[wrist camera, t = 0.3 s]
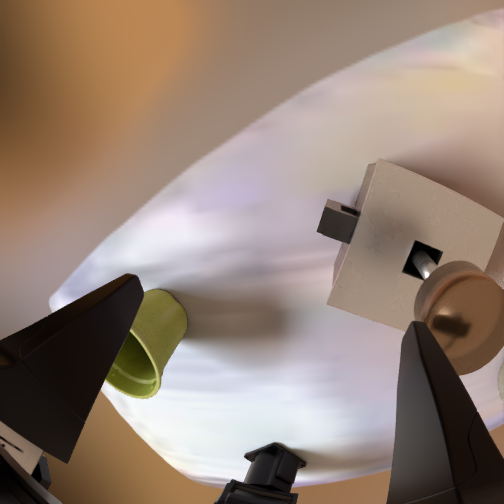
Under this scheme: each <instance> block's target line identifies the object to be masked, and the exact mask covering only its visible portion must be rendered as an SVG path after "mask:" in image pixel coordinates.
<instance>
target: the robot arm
mask: <svg viewBox="0 0 504 504" xmlns="http://www.w3.org/2000/svg"><path fill="white" fill-rule="evenodd" d="M143 298H144V291H143V288H142V285H141V283H140V280H139V277H138V276H137V275H134V274H130V273H127V274H124V275H123V276H121V277H119V278H117V279H115V280H113V281H111V282H109V283H107V284H105V285H103V286H102V287H100V288H98V289H96V290H94V291H92V292H90V293H88V294H87V295H85V296H83V297H81V298H79V299H77V300H75V301H74V302H72V303H70V304H68V305H66V306H64V307H63V308H61V309H59V310H57V311H55V312H54V313H52V314H50V315H48V317H45V318H43V319H41V320H39V321H38V322H36V323H34V324H32V325H30V326H28V327H26V328H24V329H22V330H20V331H18V332H16V333H14V334H12V335H10V336H8V337H6V338H4V339H2V340H0V504H62V503H61V502H60V501H59V500H57V499H56V498H55V497H54V496H53V495H52V494H50V493H49V492H48V491H47V490H48V488H49V486H50V484H51V478H50V474H49V469H48V464H47V458H46V457H45V456H44V455H43V453H44V452H47V453H48V454H50V455H52V456H53V457H55V458H57V459H59V460H61V461H62V462H64V463H66V464H68V462H69V460H70V457H71V455H72V453H73V450H74V448H75V445H76V443H77V440H78V438H79V436H80V434H81V431H82V429H83V427H84V424H85V422H86V420H87V417H88V415H89V413H90V411H91V409H92V406H93V404H94V402H95V400H96V398H97V396H98V393H99V391H100V389H101V387H102V385H103V383H104V381H105V379H106V377H107V375H108V373H109V371H110V369H111V367H112V365H113V363H114V361H115V359H116V357H117V355H118V353H119V351H120V349H121V347H122V345H123V344H124V342H125V340H126V338H127V336H128V334H129V332H130V329H131V327H132V325H133V322H134V320H135V317H136V315H137V313H138V310H139V308H140V306H141V303H142V301H143ZM244 458H246V459H247V460H249V461H251V462H252V463H251V466H250V468H249V470H248V473H247V475H246V478H245V480H244V482H243V483H242V482H239V481H236V480H234V479H232V480H231V482H230V483H227V484H226V487H225V489H224V491H223V492H222V494H221V495H220V496H219V497H218V499H217V500H216V501H215V502H214V504H296V502H297V498H298V494H297V493H290V490H291V487H292V484H293V483H294V481H295V477H296V473H297V470H298V469H300V468H303V467H306V465H307V463H306V462H305V461H303V460H301V459H300V458H298V457H296V456H295V455H293V454H292V453H290V452H288V451H287V450H285V449H284V448H282V447H281V446H279V445H278V444H276V443H272V444H269V445H267V446H264V447H262V448H259V449H257V450H254V451H251V452H249V453H246V454H245V455H244ZM386 504H504V458H503V456H502V455H501V453H500V452H499V450H498V448H497V446H496V444H495V443H494V441H493V439H492V437H491V436H490V434H489V432H488V430H487V428H486V426H485V424H484V422H483V420H482V418H481V416H480V414H479V412H477V409H476V407H475V405H474V403H473V401H472V399H471V397H470V396H469V394H468V392H467V390H466V388H465V387H464V385H463V383H462V381H461V379H460V378H459V376H458V374H457V373H456V371H455V369H454V367H453V366H452V364H451V362H450V361H449V359H448V358H447V356H446V354H445V353H444V351H443V349H442V348H441V346H440V345H439V343H438V342H437V340H436V338H435V337H434V335H433V334H432V332H431V331H430V329H429V328H428V326H427V325H426V323H425V322H423V321H411V323H410V324H409V326H408V329H407V331H406V333H405V335H404V337H403V339H402V344H401V356H400V367H399V376H398V385H397V408H396V428H395V442H394V453H393V463H392V471H391V479H390V485H389V492H388V498H387V503H386Z"/></svg>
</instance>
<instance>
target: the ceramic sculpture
mask: <svg viewBox="0 0 504 504" xmlns="http://www.w3.org/2000/svg"><path fill="white" fill-rule="evenodd" d="M498 389H499V393H500V397H501V400H503V401H504V362H503V364H502V366H501V368H500V370H499V375H498Z"/></svg>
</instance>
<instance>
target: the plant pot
mask: <svg viewBox="0 0 504 504" xmlns="http://www.w3.org/2000/svg"><path fill="white" fill-rule="evenodd" d="M187 325H188V322H187V316H186V313H185V311H184V309H183V307H182V305H181V304H179V303H178V302H177V301H176V300H175V299H174V298H173V297H172V296H171V294H169V293H168V292H166V291H163V290H159V289H152V290H148V291H146V292H144V298H143V301H142V303H141V306H140V308H139V310H138V313H137V315H136V317H135V320H134V322H133V325H132V327H131V329H130V332H129V334H128V336H127V338H126V340H125V342H124V344H123V345H122V347H121V349H120V351H119V353H118V355H117V357H116V359H115V361H114V363H113V365H112V367H111V369H110V371H109V373H108V375H107V377H106V379H105V381H106V382H107V383H108V384H110V385H111V386H112V387H114V388H115V389H116V390H118V391H119V392H121V393H123V394H125V395H127V396H131V397H133V398H140V399H147V398H150V397H152V396H154V395H155V394H156V393H157V392H158V390H159V388H160V386H161V377H162V375H163V370H164V367H165V366H166V364H167V362H168V360H169V359H170V357H171V355H172V354H173V352H174V350H175V349H176V347H177V345H178V344H179V342H180V341H181V339H182V337H183V336H184V334H185V332H186V330H187Z"/></svg>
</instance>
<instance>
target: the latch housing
mask: <svg viewBox="0 0 504 504" xmlns="http://www.w3.org/2000/svg"><path fill="white" fill-rule="evenodd" d="M503 222H504V218H503V217H501V216H499V215H498V214H496V213H494V212H492V211H491V210H489V209H487V208H485V207H484V206H482V205H480V204H478V203H476V202H474V201H473V200H471V199H469V198H467V197H465V196H463V195H461V194H459V193H457V192H455V191H453V190H451V189H449V188H447V187H445V186H443V185H441V184H439V183H437V182H434V181H432V180H430V179H428V178H426V177H423V176H421V175H419V174H417V173H414V172H412V171H410V170H407V169H405V168H403V167H400V166H398V165H395V164H393V163H390V162H388V161H385V160H383V159H380V158H378V160H377V163H376V164H368V167H367V171H366V174H365V177H364V181H363V184H362V187H361V190H360V193H359V196H358V199H357V202H356V205H355V208H353V207H350V206H347V205H344V204H342V203H339V202H336V201H332V200H329V199H327V202H326V205H325V208H324V211H323V214H322V217H321V220H320V223H319V226H318V229H317V232H318V233H321V234H323V235H324V236H327V237H330V238H333V239H336V240H338V241H341V242H342V245H341V248H340V251H339V253H338V256H337V259H336V261H335V264H334V274H333V285H332V290H331V292H330V294H329V297H328V299H327V305H330V306H333V307H336V308H339V309H341V310H344V311H347V312H350V313H353V314H356V315H359V316H361V317H364V318H367V319H370V320H373V321H376V322H379V323H382V324H385V325H388V326H391V327H394V328H397V329H400V330H402V331H405V332H406V331H407V329H408V326H409V324H410V323H411V321H415V319H414V302H415V298H416V295H417V293H418V290H419V288H420V287H421V285H422V283H423V282H424V278H423V277H422V275H421V274H420V272H419V271H418V269H417V268H416V266H415V265H414V263H413V262H412V261H411V259H410V256H409V253H410V251H411V249H412V248H414V247H416V246H418V247H421V248H422V249H423V250H424V251H425V252H426V253H427V254H428V256H429V257H430V258H431V259H432V260H433V261H434V262H435V263H436V265H437V266H438V267H440V266H442V265H443V264H446V263H448V262H452V261H458V260H460V261H468V262H471V263H473V264H475V265H476V266H478V267H479V268H480V269H481V270H482V271H483V272H484V271H485V269H486V267H487V264H488V262H489V260H490V257H491V255H492V252H493V250H494V247H495V245H496V242H497V239H498V237H499V234H500V231H501V228H502V225H503Z"/></svg>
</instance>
